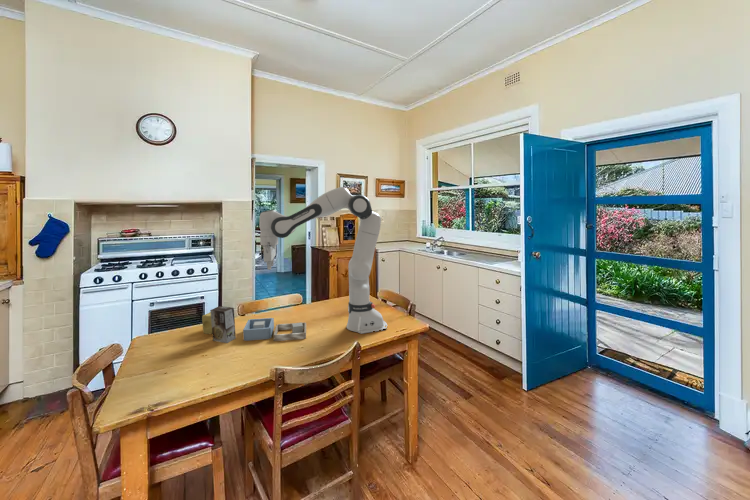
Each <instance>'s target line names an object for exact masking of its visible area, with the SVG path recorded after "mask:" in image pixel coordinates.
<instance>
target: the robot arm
mask: <svg viewBox="0 0 750 500" xmlns="http://www.w3.org/2000/svg"><path fill="white" fill-rule="evenodd" d="M342 209H348V211H350V213H351V214H352V215H353V216H355V217H357V218H359V226H358V230H357V233H356V237H355V242H354V246H353V251H352V256H351V257H350V260H349V261H348V265H347V266H348V294H349V295H348V299H349V301H348V305H347V309H348V318H347V324H346V329H347V330H348V331H352V332H356V333H359V334H367V333H374V332H373V331H375V332H380V331H379V330H381V331H384V330H383V329H386V328H387V326H388V324H387V322H386V321H385V320H384V318H383V315H382V313H380V311H378V310H377V309H375V308H376V305H375V303H373V302H372V301H371V300H370V278H369V277H370V275H371V271H372V267H373V266H372V265H373V262H374V256H375V251H376V247H377V242H378V239H379V234H380V230H381V225H382V218H381V216H380V214H379V213H377V212H375V211H373V210H372V204H371V201H370V199H369V198H368V197H366V195H363V194H356V195H352V193H350V190H349V189H348V188H346V187H345V186H339V187H337V188H334V189H331V190H328V191H327V192H324V193H323V194H321V195H320V196H318V197H317V198H316V199H314V200H313V201H312V202H311V203H310V204H308V205H307V206H306V207H305V208H303V209H300V210H298V211H296V212H295V213H292V214H291V215H285V214H282V213H279V212H278V211H277V210H275V209H267V210H263V211H262V212H260V214H259V220H258V221H259V222H258V223H259V225H258V226H259V229H260V235H259V240H260V246H262V248H263V262H264V263H266V267H267V268H266V269H267V271H268V270H270V271H271V270H272V267H273V266H274V261H275V257H276V255H277V245H278V246H279V239H285V238H287V237H288V236H290V235H291V234H293V233H294V232H295V231H296V230H297V228H298V227H300V226H301V225H303V224H305V223H307V222H309V221H311V220H314V219H320V218H324V217H328V216H330V215H333V214H334V213H336V212H339V211H341V210H342ZM385 326H386V327H385ZM387 329H388V328H387ZM387 329H386V330H387Z"/></svg>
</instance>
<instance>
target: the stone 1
mask: <svg viewBox="0 0 750 500" xmlns="http://www.w3.org/2000/svg"><path fill="white" fill-rule="evenodd" d="M257 328H265V321H258V322H254V325H253V329H257Z"/></svg>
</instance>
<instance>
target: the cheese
mask: <svg viewBox="0 0 750 500" xmlns="http://www.w3.org/2000/svg"><path fill="white" fill-rule="evenodd" d="M201 317H202V318H201V319H202V320H201V321H202V332H203V334H206V335H213V334H212V323H211V312H210V311H209V312H208V313H205V314H203V315H202V316H201Z"/></svg>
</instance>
